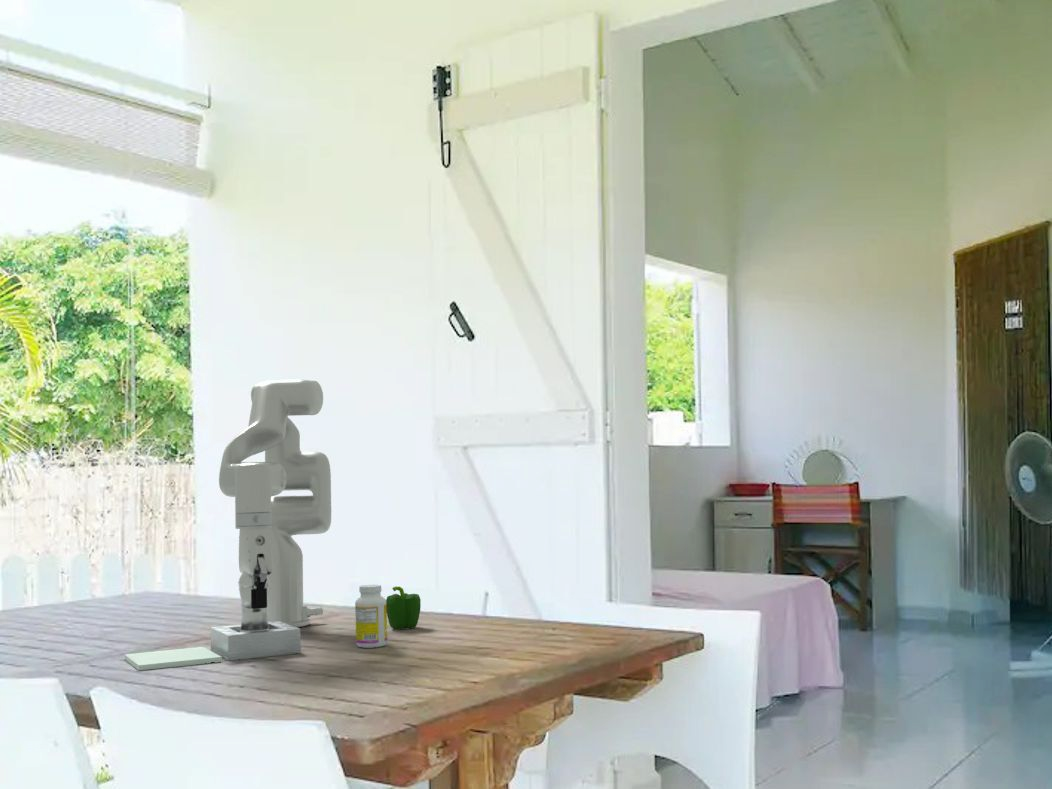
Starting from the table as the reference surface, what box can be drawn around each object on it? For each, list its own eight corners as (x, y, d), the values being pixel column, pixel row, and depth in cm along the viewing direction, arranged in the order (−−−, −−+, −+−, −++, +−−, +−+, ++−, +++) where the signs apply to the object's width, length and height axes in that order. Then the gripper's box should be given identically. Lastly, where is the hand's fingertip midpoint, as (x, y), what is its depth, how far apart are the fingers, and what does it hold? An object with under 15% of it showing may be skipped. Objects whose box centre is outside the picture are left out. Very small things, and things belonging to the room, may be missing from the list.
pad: (203, 651, 244) (203, 646, 244) (221, 661, 230) (221, 656, 230) (124, 659, 236) (124, 654, 236) (138, 670, 222) (138, 665, 222)
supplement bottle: (374, 642, 250) (373, 583, 251) (393, 645, 245) (392, 585, 246) (349, 646, 245) (348, 586, 246) (368, 649, 241) (367, 588, 241)
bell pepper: (416, 624, 277) (415, 583, 277) (424, 629, 269) (423, 586, 269) (382, 627, 274) (381, 585, 274) (389, 631, 266) (388, 588, 267)
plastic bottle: (277, 649, 243) (275, 555, 245) (259, 655, 237) (258, 557, 238) (250, 649, 245) (249, 555, 247) (232, 654, 239) (231, 557, 240)
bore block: (279, 644, 251) (279, 621, 252) (300, 653, 238) (300, 628, 239) (210, 651, 244) (210, 627, 244) (228, 660, 231) (228, 635, 231)
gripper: (282, 521, 237) (284, 609, 236) (259, 519, 252) (260, 601, 251) (246, 523, 234) (247, 612, 232) (225, 520, 249) (226, 604, 248)
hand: (254, 605), depth 242 cm, fingers closed on plastic bottle, 6 cm apart
